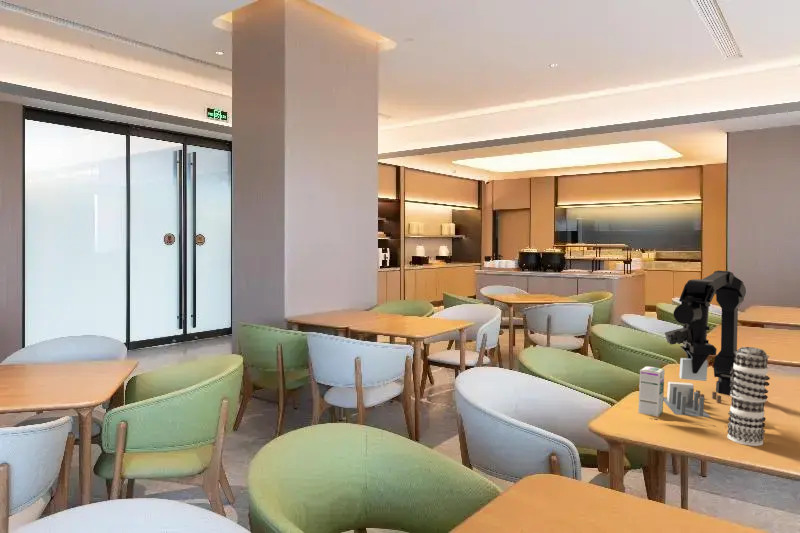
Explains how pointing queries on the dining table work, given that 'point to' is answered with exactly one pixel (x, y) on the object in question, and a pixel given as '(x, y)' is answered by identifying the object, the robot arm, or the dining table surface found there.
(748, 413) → the decorative candle
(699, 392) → the stand
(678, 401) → the rack
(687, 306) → the robot arm
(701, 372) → the white long rectangular block
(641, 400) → the syrup box
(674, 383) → the white rectangular block
